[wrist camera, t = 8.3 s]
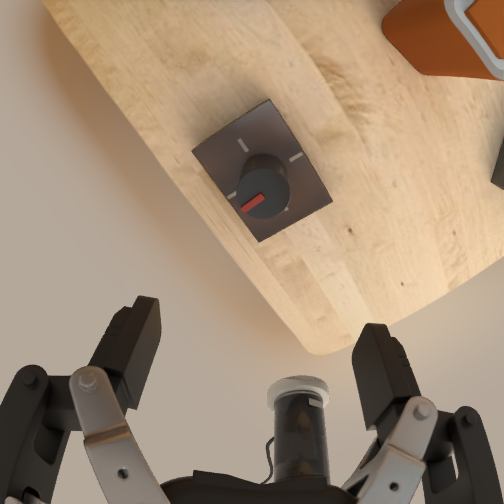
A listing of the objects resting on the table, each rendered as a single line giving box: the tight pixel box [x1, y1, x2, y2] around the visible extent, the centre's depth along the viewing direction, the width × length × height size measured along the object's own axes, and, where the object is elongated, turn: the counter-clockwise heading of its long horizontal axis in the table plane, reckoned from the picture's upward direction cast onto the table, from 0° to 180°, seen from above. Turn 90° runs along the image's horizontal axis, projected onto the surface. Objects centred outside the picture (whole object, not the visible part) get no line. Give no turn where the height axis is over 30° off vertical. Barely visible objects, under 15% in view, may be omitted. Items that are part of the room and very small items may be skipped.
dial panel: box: [192, 99, 333, 242], centre depth 30 cm, size 12×9×3 cm
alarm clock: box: [382, 0, 504, 81], centre depth 15 cm, size 15×8×14 cm, turn 142°
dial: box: [236, 154, 291, 219], centre depth 27 cm, size 4×4×6 cm
